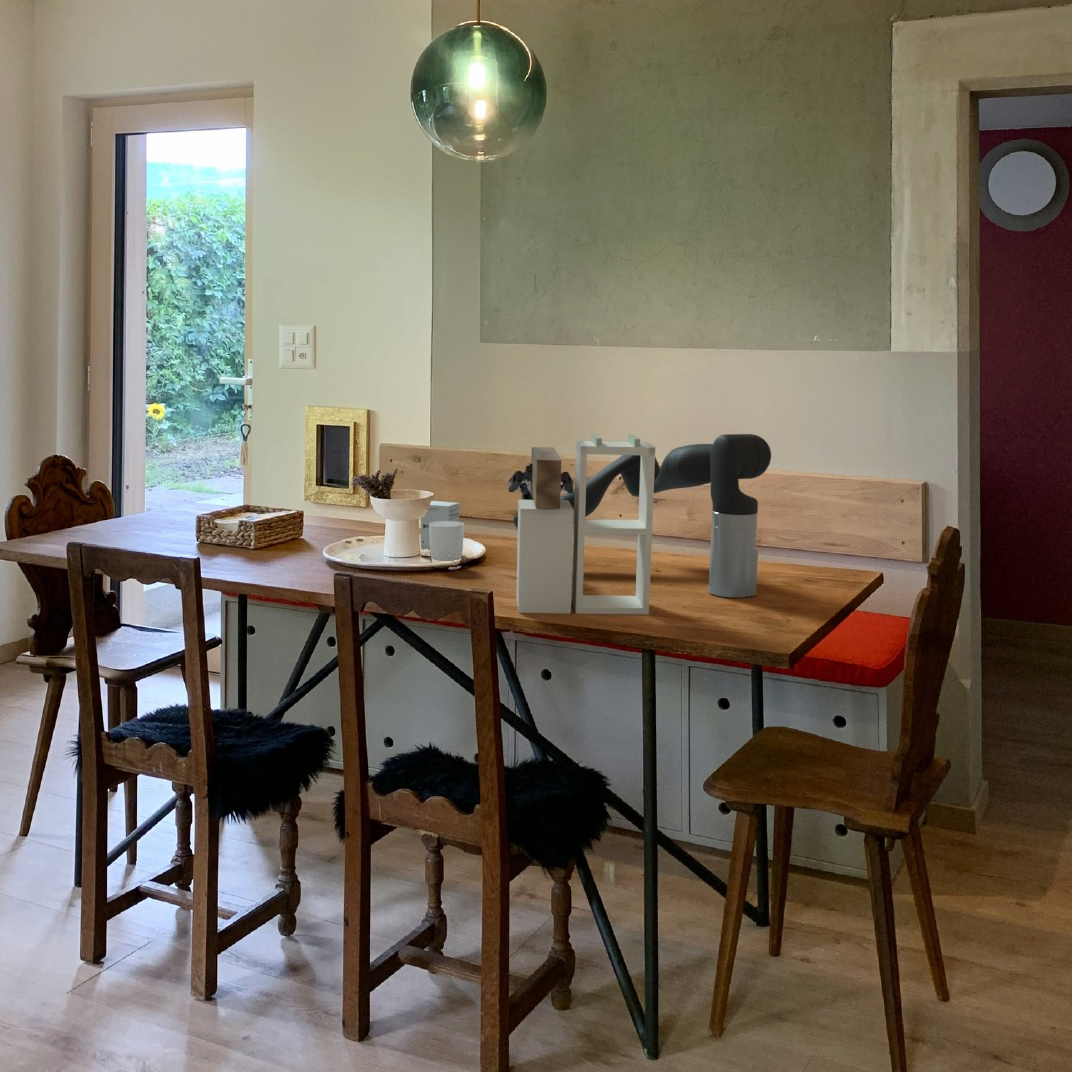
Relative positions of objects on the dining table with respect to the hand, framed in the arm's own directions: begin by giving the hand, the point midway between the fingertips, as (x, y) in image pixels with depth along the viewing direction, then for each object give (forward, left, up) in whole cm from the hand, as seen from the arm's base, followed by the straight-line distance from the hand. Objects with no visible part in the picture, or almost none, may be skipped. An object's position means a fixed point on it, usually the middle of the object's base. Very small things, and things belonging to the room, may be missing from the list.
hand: (543, 468), depth 238 cm
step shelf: (-7, +9, -26) cm, 29 cm away
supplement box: (+22, -45, -26) cm, 57 cm away
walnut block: (0, +6, -5) cm, 8 cm away
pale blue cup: (+20, -30, -26) cm, 45 cm away
